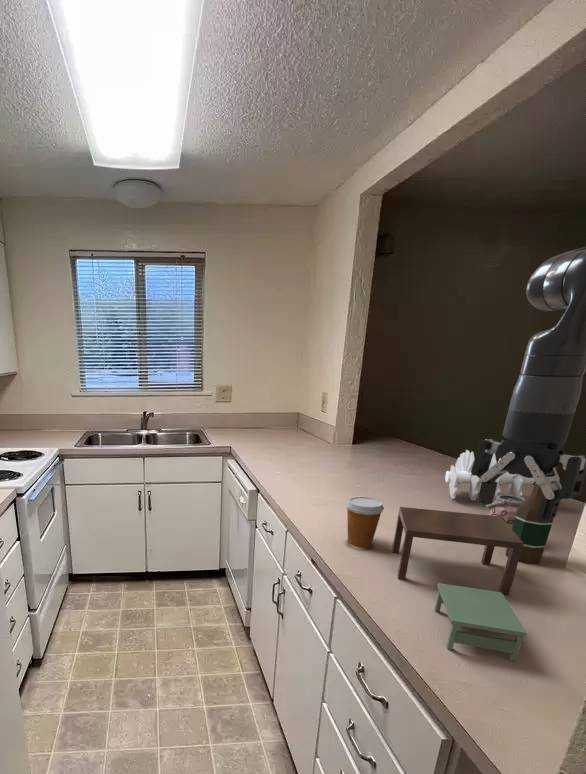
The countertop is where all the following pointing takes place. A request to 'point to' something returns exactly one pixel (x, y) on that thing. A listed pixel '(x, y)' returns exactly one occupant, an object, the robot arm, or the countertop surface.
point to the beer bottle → (531, 527)
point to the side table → (458, 536)
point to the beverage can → (506, 507)
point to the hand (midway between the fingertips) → (512, 512)
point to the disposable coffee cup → (363, 519)
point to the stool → (480, 618)
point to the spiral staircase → (464, 476)
